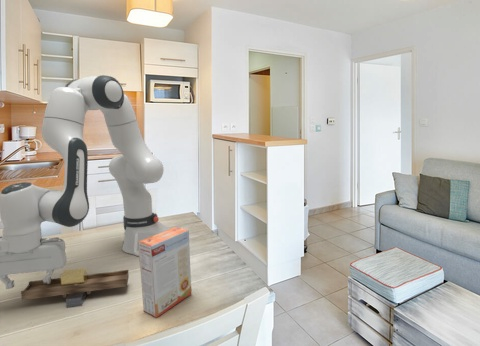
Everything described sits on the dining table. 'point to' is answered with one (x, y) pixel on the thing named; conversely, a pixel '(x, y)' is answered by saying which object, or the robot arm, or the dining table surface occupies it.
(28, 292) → the beam
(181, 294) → the cracker box
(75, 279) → the rider
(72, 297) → the fulcrum
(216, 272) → the dining table surface
